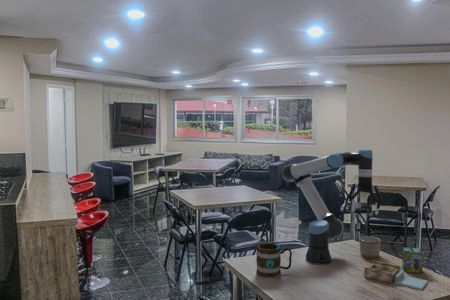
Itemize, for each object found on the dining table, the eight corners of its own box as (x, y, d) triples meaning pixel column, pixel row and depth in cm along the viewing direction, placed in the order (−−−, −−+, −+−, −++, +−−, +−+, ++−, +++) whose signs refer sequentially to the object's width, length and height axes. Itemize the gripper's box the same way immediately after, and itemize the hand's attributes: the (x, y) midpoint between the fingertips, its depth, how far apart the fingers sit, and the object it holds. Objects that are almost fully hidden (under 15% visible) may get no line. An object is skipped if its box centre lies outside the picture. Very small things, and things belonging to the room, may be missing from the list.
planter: (357, 251, 249) (357, 235, 248) (377, 252, 247) (377, 236, 246) (361, 258, 236) (361, 241, 236) (382, 259, 235) (383, 242, 234)
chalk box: (422, 273, 211) (423, 247, 210) (404, 272, 214) (404, 245, 213) (419, 267, 220) (419, 242, 219) (401, 266, 223) (402, 241, 222)
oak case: (364, 277, 207) (364, 267, 207) (373, 269, 218) (373, 260, 217) (391, 283, 198) (391, 273, 198) (399, 275, 209) (399, 265, 208)
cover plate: (394, 284, 198) (394, 276, 198) (400, 277, 207) (401, 269, 207) (421, 291, 190) (421, 282, 190) (427, 283, 199) (427, 275, 199)
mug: (257, 277, 207) (256, 250, 206) (255, 268, 221) (255, 242, 220) (293, 277, 207) (293, 250, 206) (290, 268, 220) (290, 242, 219)
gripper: (341, 175, 228) (341, 210, 229) (385, 178, 212) (384, 216, 213) (346, 174, 234) (346, 208, 235) (389, 177, 218) (389, 214, 219)
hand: (364, 212), depth 224 cm, fingers open, 13 cm apart
